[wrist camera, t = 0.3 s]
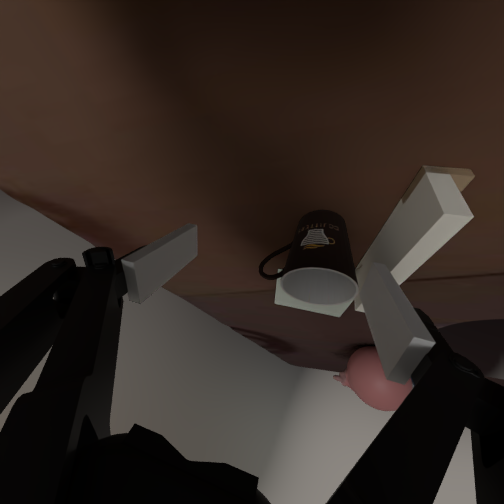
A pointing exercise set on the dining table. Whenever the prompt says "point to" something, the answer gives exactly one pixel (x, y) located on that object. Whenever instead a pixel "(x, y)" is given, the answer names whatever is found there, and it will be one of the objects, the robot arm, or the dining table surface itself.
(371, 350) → the balloon
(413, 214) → the white rectangular block
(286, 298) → the mat
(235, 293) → the dining table surface
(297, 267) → the coffee mug
